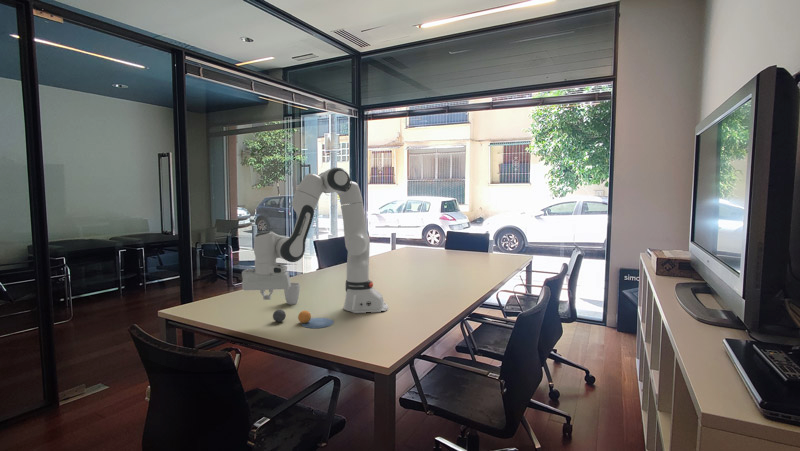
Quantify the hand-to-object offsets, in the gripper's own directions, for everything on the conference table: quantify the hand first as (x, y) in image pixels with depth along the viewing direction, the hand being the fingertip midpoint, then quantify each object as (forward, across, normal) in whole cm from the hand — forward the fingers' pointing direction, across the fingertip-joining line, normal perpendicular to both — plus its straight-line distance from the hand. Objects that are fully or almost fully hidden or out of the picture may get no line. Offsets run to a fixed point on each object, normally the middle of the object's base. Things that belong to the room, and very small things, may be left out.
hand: (267, 299), depth 173 cm
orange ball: (+8, +16, 0) cm, 18 cm away
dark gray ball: (+8, +4, +2) cm, 9 cm away
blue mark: (+11, +22, 0) cm, 24 cm away
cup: (+11, +3, +32) cm, 34 cm away
